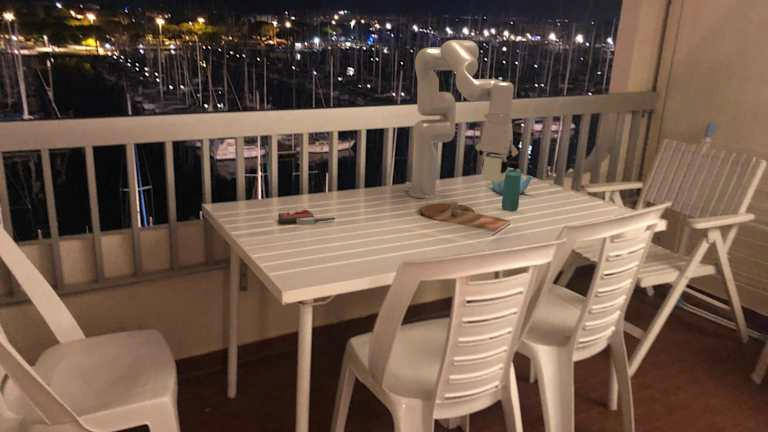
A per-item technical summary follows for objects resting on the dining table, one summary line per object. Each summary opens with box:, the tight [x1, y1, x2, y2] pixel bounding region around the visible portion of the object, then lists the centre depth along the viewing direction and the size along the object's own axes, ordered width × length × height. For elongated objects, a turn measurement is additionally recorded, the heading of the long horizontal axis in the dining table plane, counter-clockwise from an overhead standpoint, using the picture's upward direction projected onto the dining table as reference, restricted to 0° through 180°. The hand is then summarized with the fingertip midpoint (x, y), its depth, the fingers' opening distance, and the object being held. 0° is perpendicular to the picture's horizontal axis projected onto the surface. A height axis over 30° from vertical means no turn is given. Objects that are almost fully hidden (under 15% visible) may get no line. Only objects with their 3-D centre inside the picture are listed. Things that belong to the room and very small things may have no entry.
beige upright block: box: [481, 153, 506, 182], centre depth 209 cm, size 6×6×8 cm
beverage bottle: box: [501, 161, 522, 212], centre depth 231 cm, size 6×7×20 cm
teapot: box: [491, 167, 533, 195], centre depth 263 cm, size 15×15×11 cm
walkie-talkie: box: [277, 208, 336, 226], centre depth 214 cm, size 9×4×20 cm
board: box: [432, 201, 511, 237], centre depth 219 cm, size 24×16×6 cm, turn 57°
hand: (494, 170), depth 210 cm, fingers closed on beige upright block, 6 cm apart
